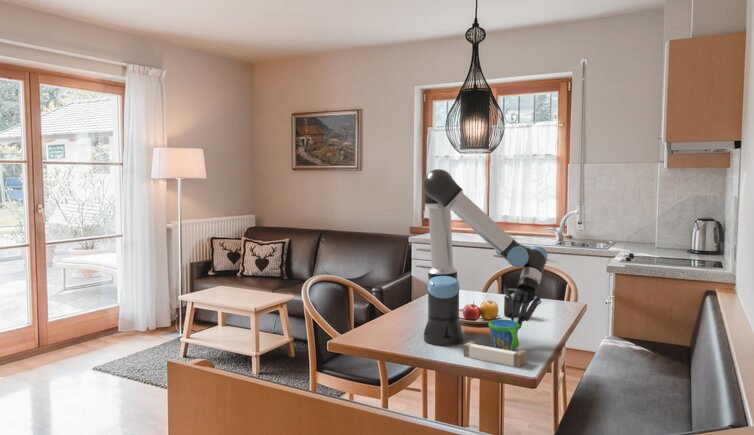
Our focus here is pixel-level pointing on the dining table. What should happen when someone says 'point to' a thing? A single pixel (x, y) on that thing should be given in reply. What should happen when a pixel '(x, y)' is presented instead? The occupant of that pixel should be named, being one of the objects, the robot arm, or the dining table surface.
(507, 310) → the supplement bottle
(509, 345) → the snack cup
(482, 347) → the rail
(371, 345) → the dining table surface
